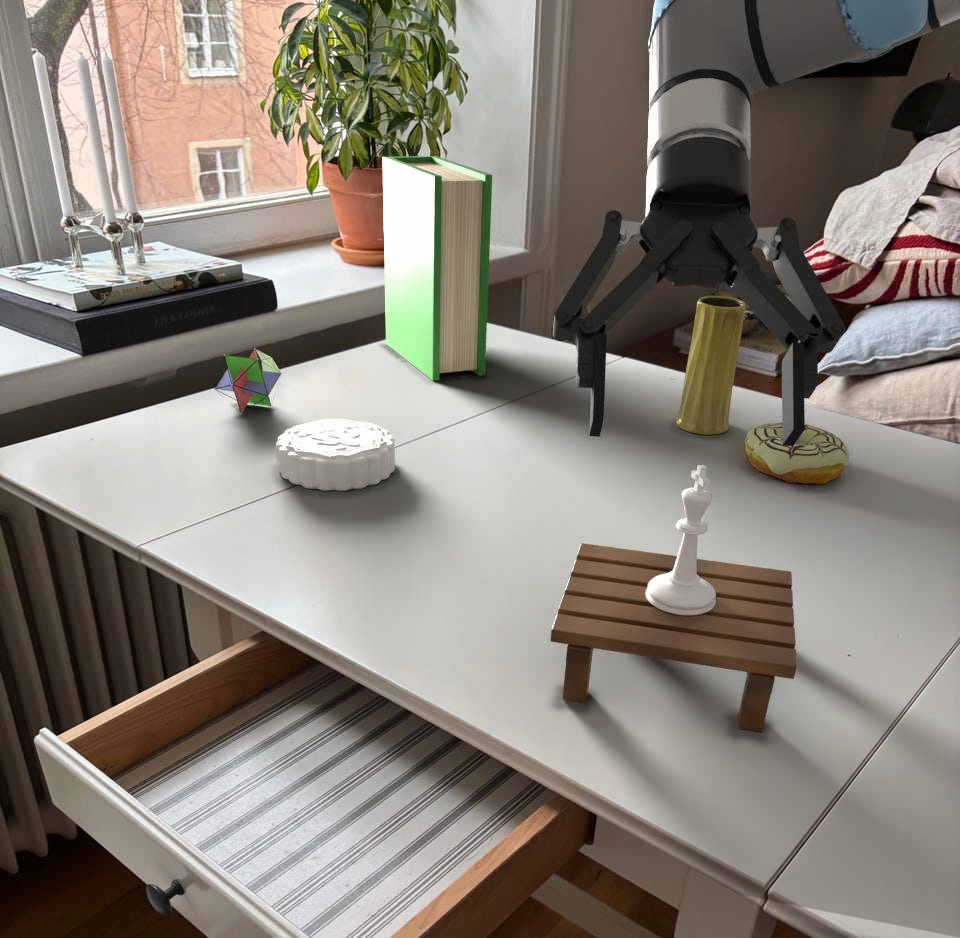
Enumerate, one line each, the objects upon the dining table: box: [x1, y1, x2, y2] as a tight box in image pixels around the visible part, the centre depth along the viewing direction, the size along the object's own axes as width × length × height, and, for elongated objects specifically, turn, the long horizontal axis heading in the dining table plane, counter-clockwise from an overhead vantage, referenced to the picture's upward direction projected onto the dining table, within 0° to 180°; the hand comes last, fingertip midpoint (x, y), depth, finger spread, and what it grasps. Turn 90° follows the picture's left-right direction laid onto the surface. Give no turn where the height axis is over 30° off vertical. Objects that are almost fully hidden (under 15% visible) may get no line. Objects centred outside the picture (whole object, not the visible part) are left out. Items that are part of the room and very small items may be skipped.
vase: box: [675, 295, 747, 436], centre depth 112 cm, size 6×6×14 cm
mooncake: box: [275, 418, 396, 492], centre depth 101 cm, size 12×12×4 cm
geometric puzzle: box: [213, 347, 283, 415], centre depth 115 cm, size 7×7×8 cm
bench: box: [550, 542, 798, 733], centre depth 72 cm, size 16×14×6 cm
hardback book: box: [382, 155, 493, 382], centre depth 129 cm, size 18×7×24 cm, turn 24°
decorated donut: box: [744, 421, 850, 485], centre depth 105 cm, size 10×11×4 cm
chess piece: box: [646, 464, 716, 615], centre depth 68 cm, size 5×5×10 cm
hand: (694, 433), depth 69 cm, fingers open, 13 cm apart
